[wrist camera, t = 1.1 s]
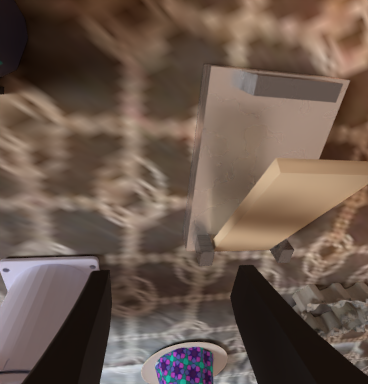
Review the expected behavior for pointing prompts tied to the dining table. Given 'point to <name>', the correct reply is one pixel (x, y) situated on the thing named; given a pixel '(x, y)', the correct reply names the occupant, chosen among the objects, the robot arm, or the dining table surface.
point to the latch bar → (289, 201)
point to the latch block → (251, 141)
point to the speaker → (11, 37)
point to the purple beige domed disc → (185, 364)
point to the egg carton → (334, 308)
